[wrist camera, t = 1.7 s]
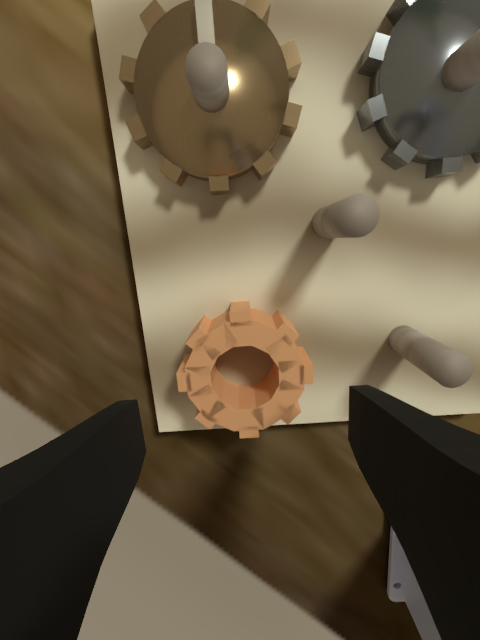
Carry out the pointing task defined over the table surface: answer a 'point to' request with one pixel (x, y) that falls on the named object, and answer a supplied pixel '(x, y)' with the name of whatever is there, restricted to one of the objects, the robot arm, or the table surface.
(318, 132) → the gear board
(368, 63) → the gear
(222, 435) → the table surface
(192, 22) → the gear
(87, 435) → the robot arm
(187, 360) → the idler gear
